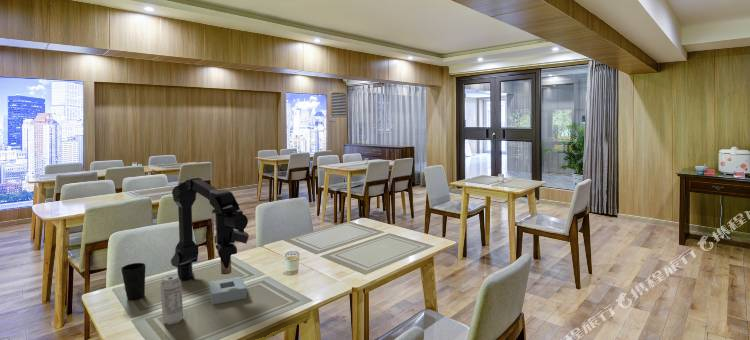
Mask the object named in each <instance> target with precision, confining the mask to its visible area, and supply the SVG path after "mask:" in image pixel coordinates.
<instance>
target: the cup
mask: <svg viewBox="0 0 750 340" xmlns="http://www.w3.org/2000/svg"><path fill="white" fill-rule="evenodd" d="M120 269H121V273H122V274H121V275H122V280H123V286H124V289H125V293H126V299H127V301H130V302H132V301H138V300H141V299H143V298H145V293H146V263H144V262H143V263H142V262H134V263H129V264H126V265H124V266H122V267H121V268H120Z"/></svg>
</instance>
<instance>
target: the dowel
mask: <svg viewBox="0 0 750 340" xmlns="http://www.w3.org/2000/svg"><path fill="white" fill-rule="evenodd" d="M220 271H221V272H220V274H221V275H230V274H231V273H232V256H231V257H230V262H229V267H228V268H225V267H224V265H223V263H222V261H221V260H220Z"/></svg>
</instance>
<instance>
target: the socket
mask: <svg viewBox="0 0 750 340" xmlns="http://www.w3.org/2000/svg"><path fill="white" fill-rule="evenodd" d="M208 289H209V295H210V296H209V297H210V301H211V305H212V306H213V305H214V306H215V305H218V304H224V303H228V302H234V301H238V300H244V299H247V297H248V296H247V295H248V294H247V287H246V284H245V281H244V279H243V277H242V276H236V277H231V278H225V279H219V280H218V279H217V280H213V281H208Z"/></svg>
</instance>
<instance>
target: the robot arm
mask: <svg viewBox="0 0 750 340" xmlns="http://www.w3.org/2000/svg"><path fill="white" fill-rule="evenodd" d="M171 194H172V199H173V202H174V203H175V204H176V206H177V208H178V209H177V211H178V231H179V232H178V233H179V235H178V236H179V241H178V243H177V245H176V246H175V250H174V254H173V256H172V258H171V259H170V263H171V266H173V267H175V268H176V271H177V275H178V276H179V279H180V280H181V282H182V281H183V282H184V281H189V280H194V279H195V273H194V272H193V270H194V269H193V263H197V262H198V257H199V245H198V244H197V243H196V242H195V241H194V239H193V235H194V234H193V205H194V203H195V201H196V200H197V194H199V195H201V196H202V197H204V198H206V199H207V200H208V203H209V205H211V207H212V208H214V209H212V211H211V213H212V214H215V215H214V217H215V234H216V235H214V237H213V242H214V244H216V245H215V249H216V252H217V255H218V257H219V260H220V262H221V261H222V263H223V265H224V267H225V268H228V267H229V262H230V257H231V258H232V255H236V254H238V248H237V246H236V245H235V244H234V243H236V242H238V243H242V244H245V245H246V244H248V243H247V242H248V241H249V237H250V235H249V233H248V232H247V231H245V229H246V227H247V226H248V223H249V219H248V217H247V216H246V215H245V214H243V213H244V212H243V210H241V208H240V204H239V202H238V201H237V199H236V197H235V196H234V194H233V192H231V191H230V190H226V189H218V188H216V187H214V186H213V185H211V184H209V183H208V182H206V181H204V180H203V179H202V178H201V177H191V178H188V179H186V180H185V181H184V182H181V183H179V184H177V185H176V186H174V188H172V191H171Z"/></svg>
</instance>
